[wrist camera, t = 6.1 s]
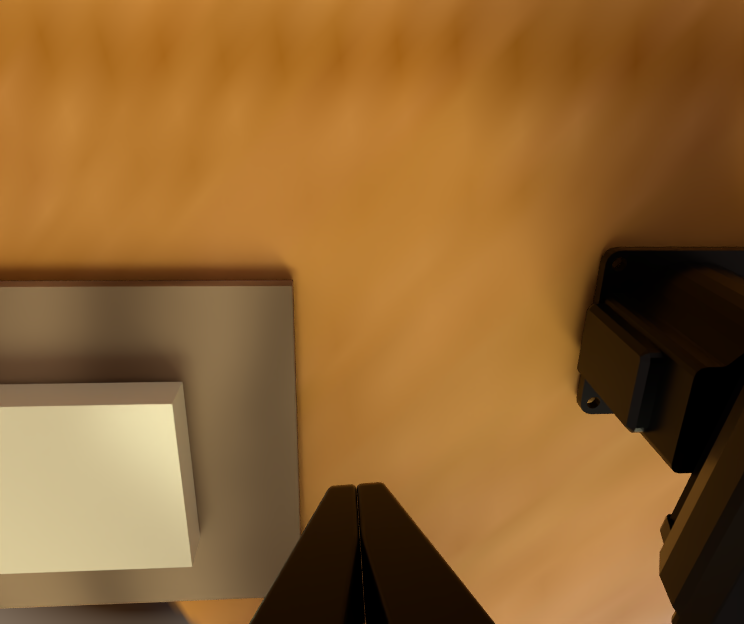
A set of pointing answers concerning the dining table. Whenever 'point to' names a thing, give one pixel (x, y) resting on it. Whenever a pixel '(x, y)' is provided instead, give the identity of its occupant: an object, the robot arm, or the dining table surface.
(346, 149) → the dining table surface
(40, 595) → the board
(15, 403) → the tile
